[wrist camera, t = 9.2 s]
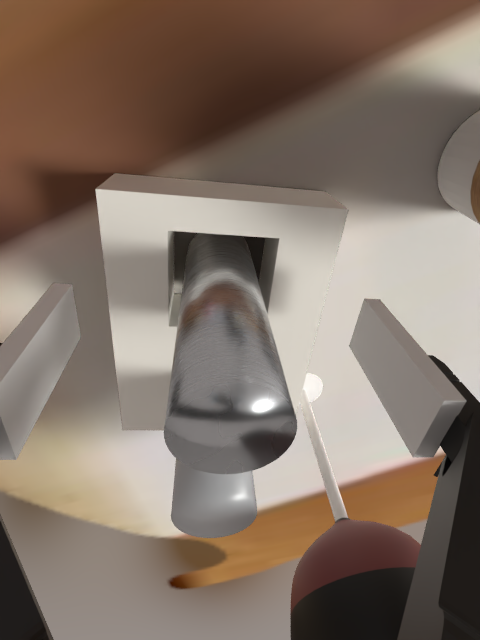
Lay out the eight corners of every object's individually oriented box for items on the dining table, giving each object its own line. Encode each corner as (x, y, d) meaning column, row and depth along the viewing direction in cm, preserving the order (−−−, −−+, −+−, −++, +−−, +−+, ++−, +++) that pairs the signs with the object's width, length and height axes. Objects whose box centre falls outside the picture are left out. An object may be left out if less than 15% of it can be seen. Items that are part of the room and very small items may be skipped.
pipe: (187, 223, 21) (163, 381, 9) (253, 228, 22) (308, 384, 10) (186, 283, 23) (165, 474, 11) (246, 286, 24) (285, 473, 12)
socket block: (114, 173, 19) (13, 255, 9) (325, 191, 21) (437, 279, 11) (132, 389, 28) (90, 557, 18) (282, 392, 29) (322, 548, 19)
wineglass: (229, 390, 29) (257, 791, 12) (312, 327, 26) (495, 731, 10) (289, 434, 33) (375, 793, 16) (368, 382, 30) (575, 750, 13)
